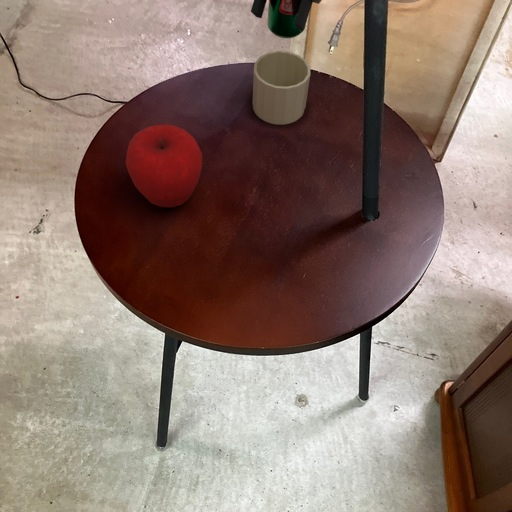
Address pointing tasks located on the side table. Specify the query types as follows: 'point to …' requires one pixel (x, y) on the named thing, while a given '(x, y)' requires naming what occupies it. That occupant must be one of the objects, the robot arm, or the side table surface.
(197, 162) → the apple
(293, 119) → the cup
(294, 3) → the soda can
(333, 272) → the side table surface
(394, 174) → the side table surface
